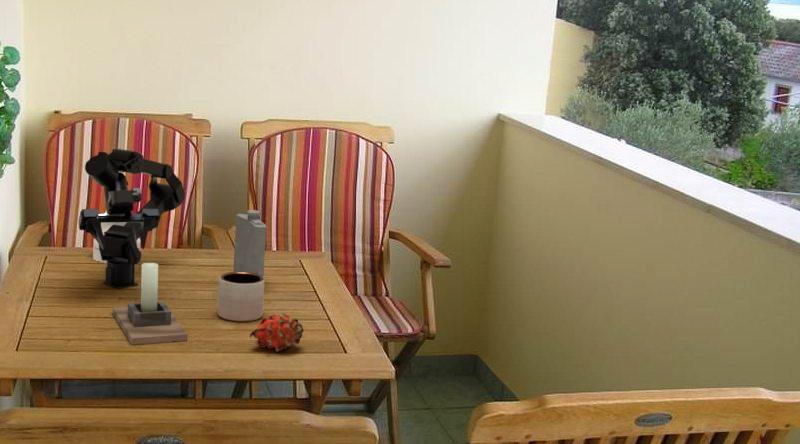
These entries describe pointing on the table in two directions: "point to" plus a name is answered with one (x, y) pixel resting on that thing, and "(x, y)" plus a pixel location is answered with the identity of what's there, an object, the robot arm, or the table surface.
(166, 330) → the keeper
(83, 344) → the table surface
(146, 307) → the pale green peg
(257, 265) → the hip flask
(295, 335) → the dragon fruit
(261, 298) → the planter
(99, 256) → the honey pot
